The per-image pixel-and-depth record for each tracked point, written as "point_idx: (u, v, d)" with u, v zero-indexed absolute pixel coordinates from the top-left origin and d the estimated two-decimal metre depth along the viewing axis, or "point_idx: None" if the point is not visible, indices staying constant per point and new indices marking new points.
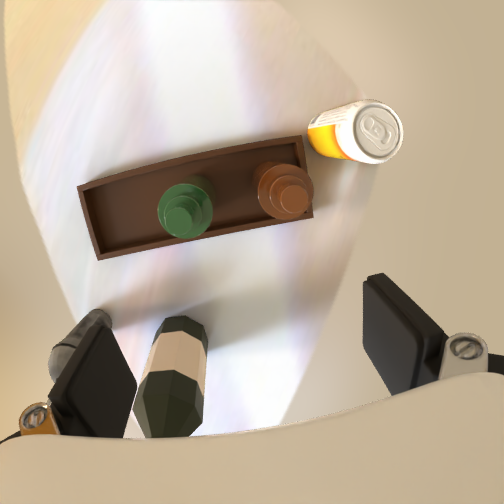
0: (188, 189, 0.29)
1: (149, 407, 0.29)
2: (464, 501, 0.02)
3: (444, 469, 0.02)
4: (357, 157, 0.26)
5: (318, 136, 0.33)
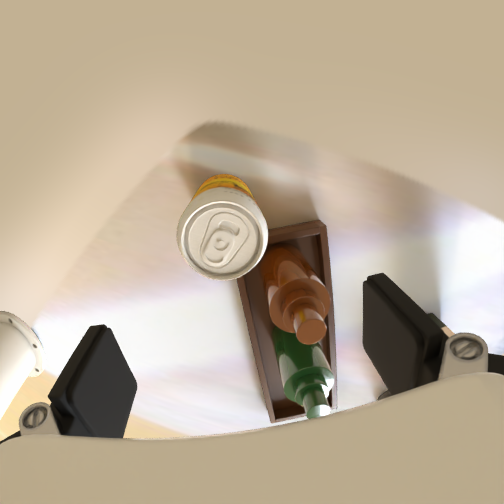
0: (289, 385, 0.30)
1: None
2: (464, 501, 0.02)
3: (444, 469, 0.02)
4: (260, 257, 0.21)
5: None
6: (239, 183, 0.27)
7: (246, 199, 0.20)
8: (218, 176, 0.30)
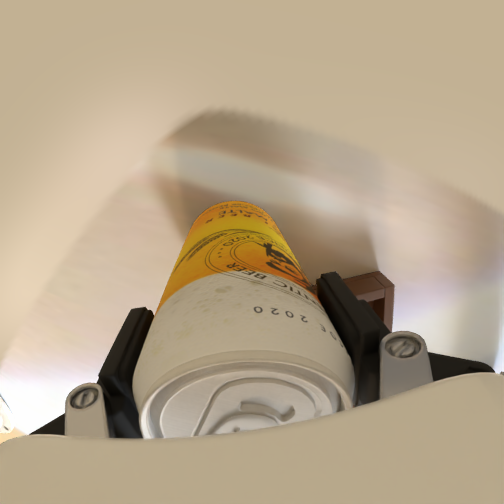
0: None
1: None
2: (464, 501, 0.02)
3: (444, 469, 0.02)
4: None
5: None
6: (269, 231, 0.14)
7: (316, 330, 0.07)
8: (226, 208, 0.17)
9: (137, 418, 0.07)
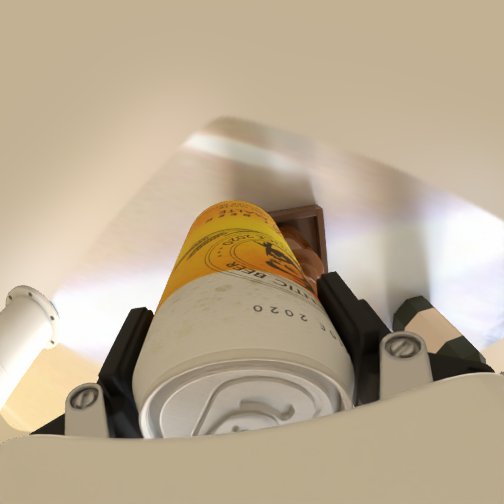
0: None
1: None
2: (464, 501, 0.02)
3: (444, 469, 0.02)
4: None
5: None
6: (269, 230, 0.14)
7: (316, 329, 0.07)
8: (226, 208, 0.17)
9: (137, 418, 0.07)
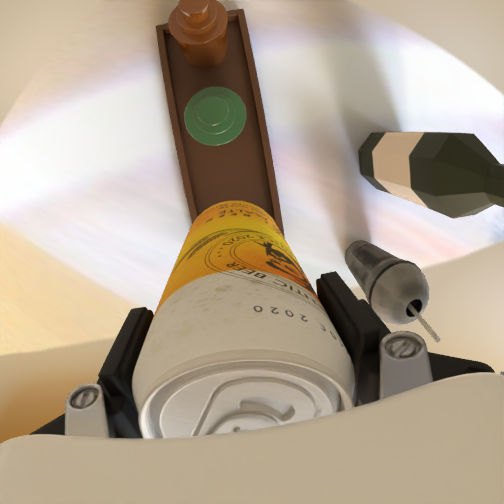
0: (190, 111, 0.25)
1: (449, 189, 0.21)
2: (464, 501, 0.02)
3: (444, 469, 0.02)
4: None
5: None
6: (269, 230, 0.14)
7: (316, 329, 0.07)
8: (226, 208, 0.17)
9: (137, 418, 0.07)
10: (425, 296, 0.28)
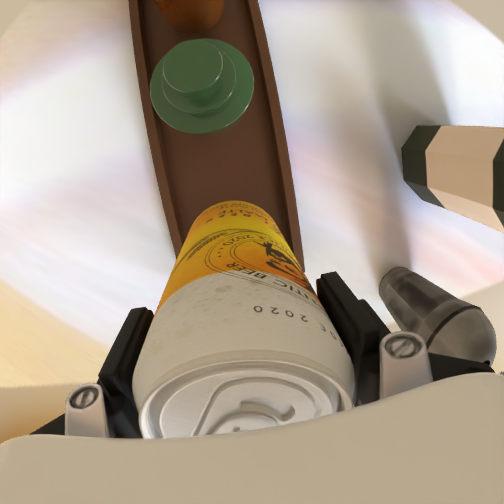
0: (160, 79, 0.14)
1: None
2: (464, 501, 0.02)
3: (444, 469, 0.02)
4: None
5: None
6: (269, 231, 0.14)
7: (316, 329, 0.07)
8: (226, 208, 0.17)
9: (137, 418, 0.07)
10: (494, 354, 0.17)
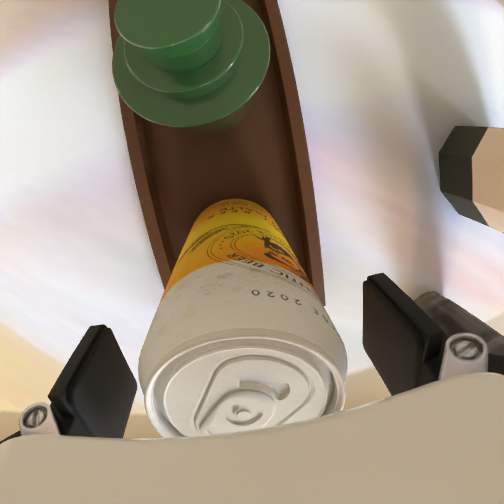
0: None
1: None
2: (464, 501, 0.02)
3: (444, 469, 0.02)
4: None
5: None
6: (268, 226, 0.14)
7: (309, 312, 0.07)
8: (227, 205, 0.17)
9: None
10: None
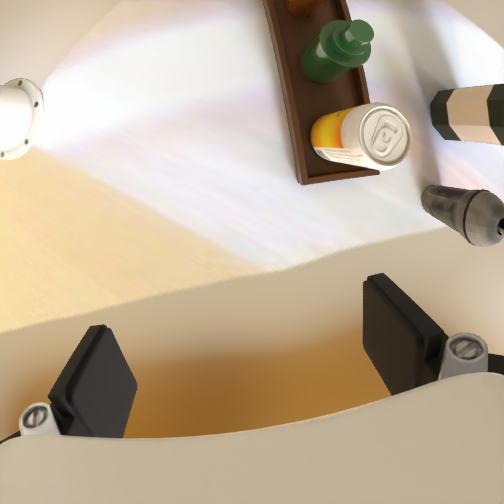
0: (325, 35, 0.24)
1: None
2: (464, 501, 0.02)
3: (444, 469, 0.02)
4: None
5: None
6: None
7: None
8: None
9: None
10: None
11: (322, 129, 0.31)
